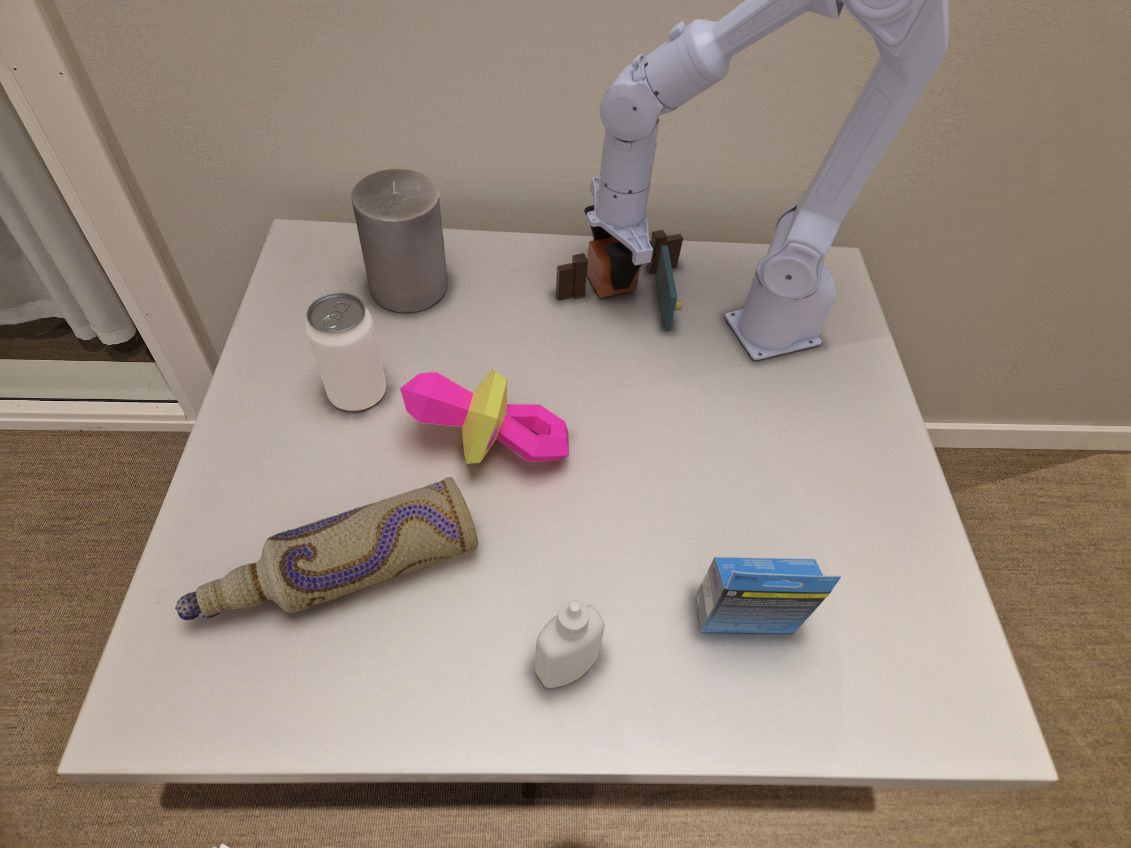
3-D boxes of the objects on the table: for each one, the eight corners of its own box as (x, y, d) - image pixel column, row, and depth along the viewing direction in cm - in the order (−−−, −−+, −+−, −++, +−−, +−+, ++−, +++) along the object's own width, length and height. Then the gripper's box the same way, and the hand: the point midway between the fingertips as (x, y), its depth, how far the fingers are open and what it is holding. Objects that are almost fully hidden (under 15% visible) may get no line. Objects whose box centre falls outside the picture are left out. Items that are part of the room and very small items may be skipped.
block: (621, 265, 95) (626, 234, 91) (636, 290, 92) (641, 259, 88) (585, 272, 94) (588, 241, 90) (599, 298, 91) (603, 267, 87)
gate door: (663, 329, 88) (670, 297, 84) (655, 277, 94) (661, 245, 90) (678, 329, 89) (686, 298, 84) (668, 277, 94) (675, 245, 90)
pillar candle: (369, 264, 93) (347, 160, 82) (445, 258, 95) (435, 155, 83) (370, 317, 88) (347, 213, 76) (452, 310, 89) (442, 207, 77)
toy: (550, 509, 74) (589, 426, 69) (376, 456, 70) (404, 365, 65) (551, 457, 82) (585, 380, 78) (395, 407, 79) (422, 323, 74)
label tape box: (787, 596, 68) (832, 532, 58) (796, 638, 66) (844, 578, 56) (694, 594, 68) (724, 529, 58) (699, 636, 65) (731, 576, 56)
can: (317, 406, 79) (289, 327, 70) (342, 363, 83) (319, 283, 73) (373, 419, 78) (353, 341, 69) (396, 375, 82) (380, 296, 73)
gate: (554, 295, 92) (556, 259, 87) (671, 259, 97) (678, 223, 92) (560, 304, 91) (562, 268, 86) (678, 267, 96) (686, 231, 92)
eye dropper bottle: (533, 640, 64) (535, 580, 55) (596, 637, 65) (609, 578, 55) (535, 690, 62) (537, 637, 52) (600, 687, 62) (615, 634, 53)
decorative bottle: (458, 497, 73) (453, 460, 68) (482, 561, 69) (479, 527, 64) (184, 583, 66) (155, 549, 61) (193, 660, 62) (162, 630, 57)
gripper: (569, 148, 84) (564, 242, 95) (615, 224, 76) (603, 317, 87) (626, 139, 86) (614, 233, 97) (677, 213, 78) (657, 306, 89)
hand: (612, 272), depth 92 cm, fingers closed on block, 5 cm apart
